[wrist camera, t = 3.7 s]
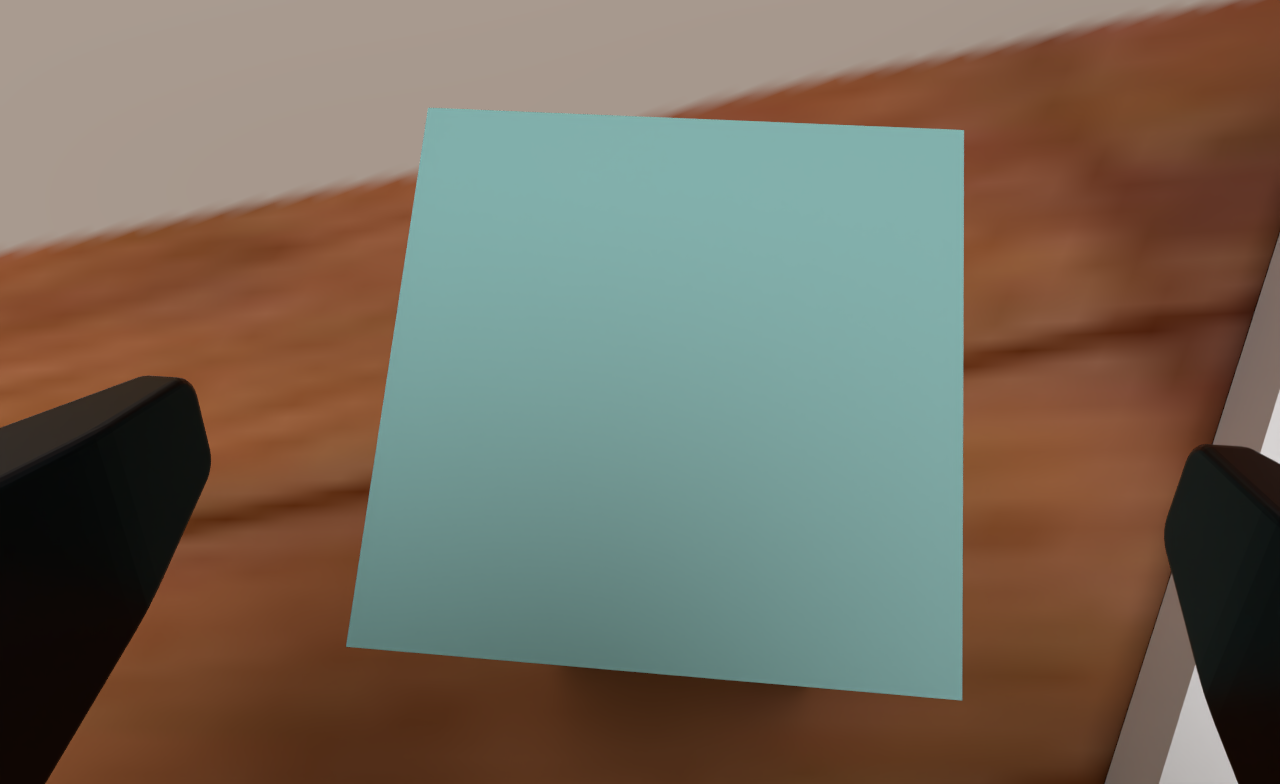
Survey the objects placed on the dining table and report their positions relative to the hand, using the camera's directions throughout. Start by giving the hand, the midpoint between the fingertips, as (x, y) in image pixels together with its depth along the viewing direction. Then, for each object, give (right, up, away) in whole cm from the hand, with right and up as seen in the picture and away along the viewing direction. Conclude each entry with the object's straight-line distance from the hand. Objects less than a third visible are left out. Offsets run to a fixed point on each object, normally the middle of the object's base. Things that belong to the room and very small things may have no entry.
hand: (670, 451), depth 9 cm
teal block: (+1, -2, +9) cm, 10 cm away
